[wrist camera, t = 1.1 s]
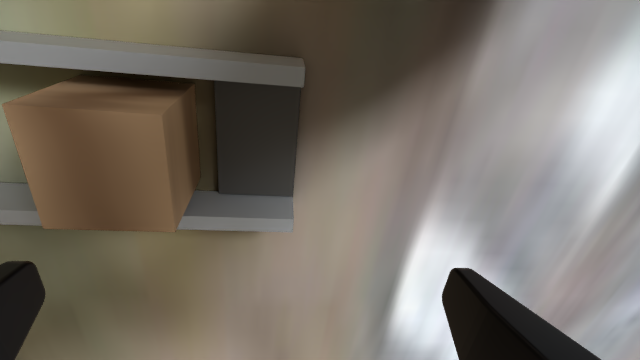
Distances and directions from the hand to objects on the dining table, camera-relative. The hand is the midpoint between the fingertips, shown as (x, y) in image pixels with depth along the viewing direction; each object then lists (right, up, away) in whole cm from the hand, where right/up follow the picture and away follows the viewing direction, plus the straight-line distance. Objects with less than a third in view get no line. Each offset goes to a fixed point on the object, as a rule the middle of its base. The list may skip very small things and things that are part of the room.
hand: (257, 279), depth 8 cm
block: (-7, +5, +9) cm, 13 cm away
